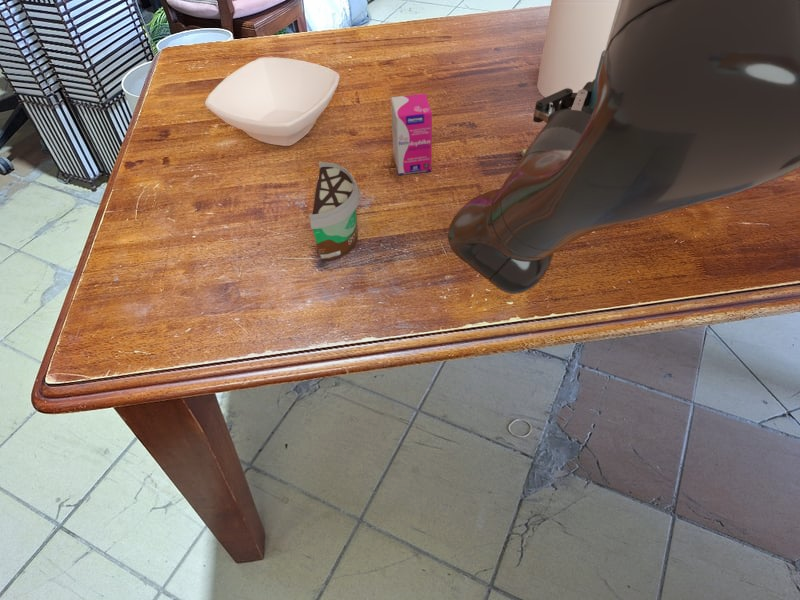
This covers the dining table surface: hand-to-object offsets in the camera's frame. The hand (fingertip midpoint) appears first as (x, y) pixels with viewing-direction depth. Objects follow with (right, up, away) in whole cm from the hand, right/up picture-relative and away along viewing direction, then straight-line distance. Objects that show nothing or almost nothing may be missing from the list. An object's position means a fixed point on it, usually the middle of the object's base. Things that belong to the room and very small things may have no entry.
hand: (608, 89), depth 70 cm
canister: (+6, +14, +34) cm, 37 cm away
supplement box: (-26, -5, +21) cm, 33 cm away
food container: (-36, -19, +10) cm, 42 cm away
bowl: (-50, +4, +29) cm, 57 cm away
